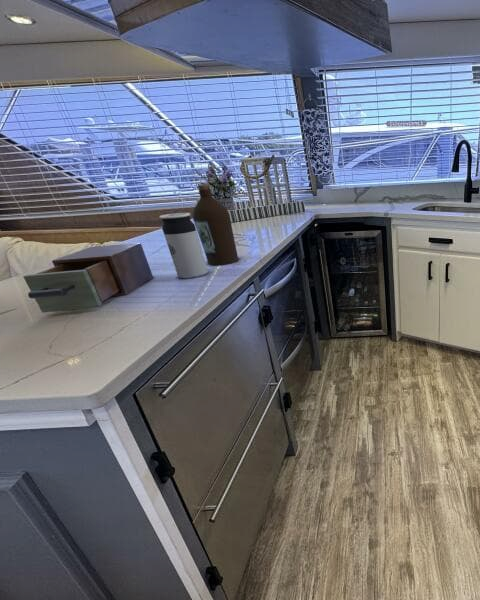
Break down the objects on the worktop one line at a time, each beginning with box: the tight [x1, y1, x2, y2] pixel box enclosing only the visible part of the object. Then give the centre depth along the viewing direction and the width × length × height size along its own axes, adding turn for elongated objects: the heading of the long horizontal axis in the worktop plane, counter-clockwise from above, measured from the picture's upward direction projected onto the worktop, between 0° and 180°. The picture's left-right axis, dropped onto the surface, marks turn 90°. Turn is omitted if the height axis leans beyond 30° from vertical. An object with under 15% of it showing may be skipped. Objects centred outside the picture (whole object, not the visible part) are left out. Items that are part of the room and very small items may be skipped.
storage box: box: [51, 242, 154, 297], centre depth 88 cm, size 15×13×11 cm
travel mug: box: [159, 212, 209, 279], centre depth 95 cm, size 8×8×18 cm
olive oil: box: [192, 184, 239, 266], centre depth 106 cm, size 11×11×25 cm
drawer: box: [22, 259, 121, 313], centre depth 77 cm, size 18×11×9 cm, turn 12°
